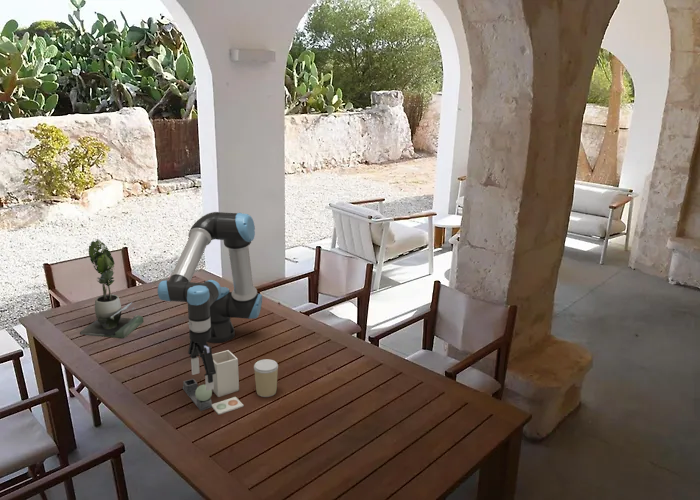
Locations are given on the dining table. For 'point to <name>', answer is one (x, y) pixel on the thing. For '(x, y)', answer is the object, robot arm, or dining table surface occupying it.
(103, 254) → the potted plant
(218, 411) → the card
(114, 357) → the dining table surface
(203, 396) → the ball sage
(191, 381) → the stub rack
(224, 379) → the open square box
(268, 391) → the coffee cup
